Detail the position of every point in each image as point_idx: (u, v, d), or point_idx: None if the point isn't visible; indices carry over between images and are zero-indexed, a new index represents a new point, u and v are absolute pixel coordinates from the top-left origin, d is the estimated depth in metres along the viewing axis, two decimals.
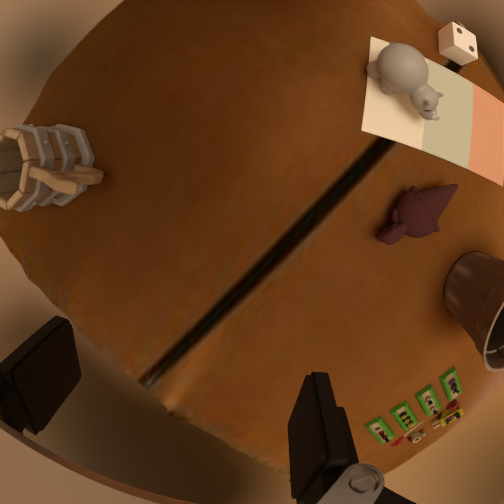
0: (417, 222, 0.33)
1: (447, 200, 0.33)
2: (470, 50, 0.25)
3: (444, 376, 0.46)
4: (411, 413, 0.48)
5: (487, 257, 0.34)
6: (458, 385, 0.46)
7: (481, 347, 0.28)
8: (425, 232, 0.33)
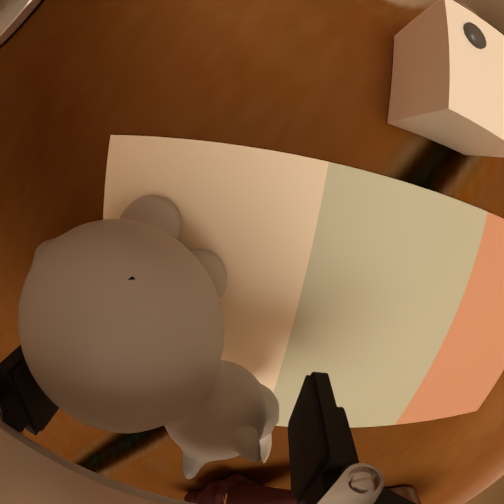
0: None
1: None
2: None
3: None
4: None
5: None
6: None
7: None
8: None
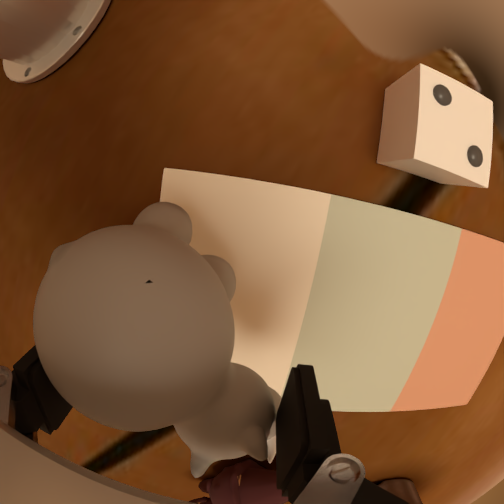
0: None
1: None
2: (469, 163, 0.11)
3: None
4: None
5: None
6: None
7: None
8: None
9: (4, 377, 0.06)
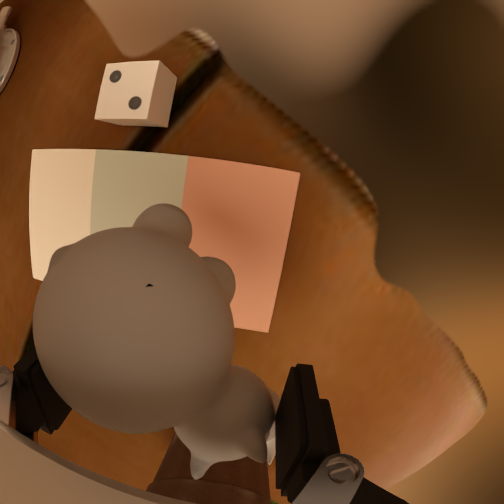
0: None
1: None
2: (131, 108, 0.19)
3: None
4: None
5: None
6: None
7: None
8: None
9: (5, 377, 0.06)
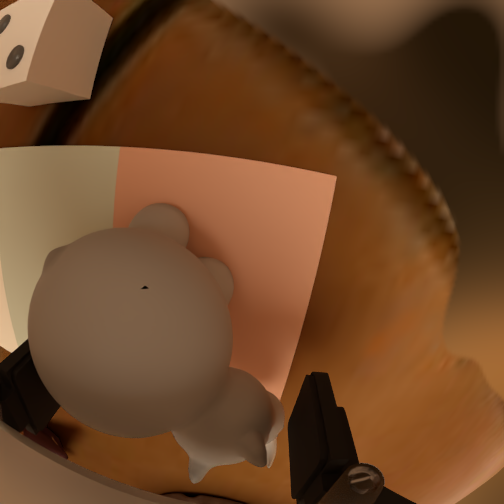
0: None
1: None
2: (9, 69, 0.06)
3: None
4: None
5: None
6: None
7: None
8: None
9: None
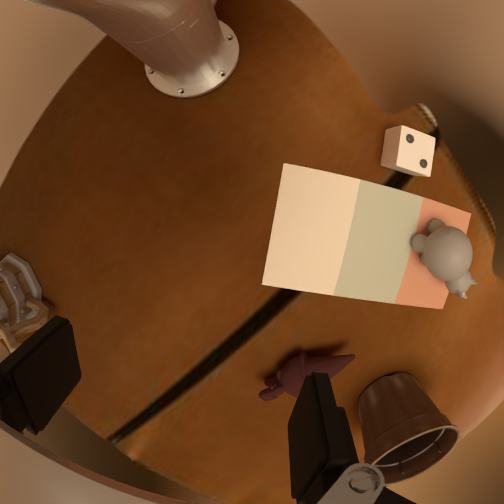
0: (293, 390, 0.37)
1: (335, 372, 0.37)
2: (420, 166, 0.29)
3: None
4: None
5: (400, 388, 0.38)
6: None
7: None
8: None
9: None
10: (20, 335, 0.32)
